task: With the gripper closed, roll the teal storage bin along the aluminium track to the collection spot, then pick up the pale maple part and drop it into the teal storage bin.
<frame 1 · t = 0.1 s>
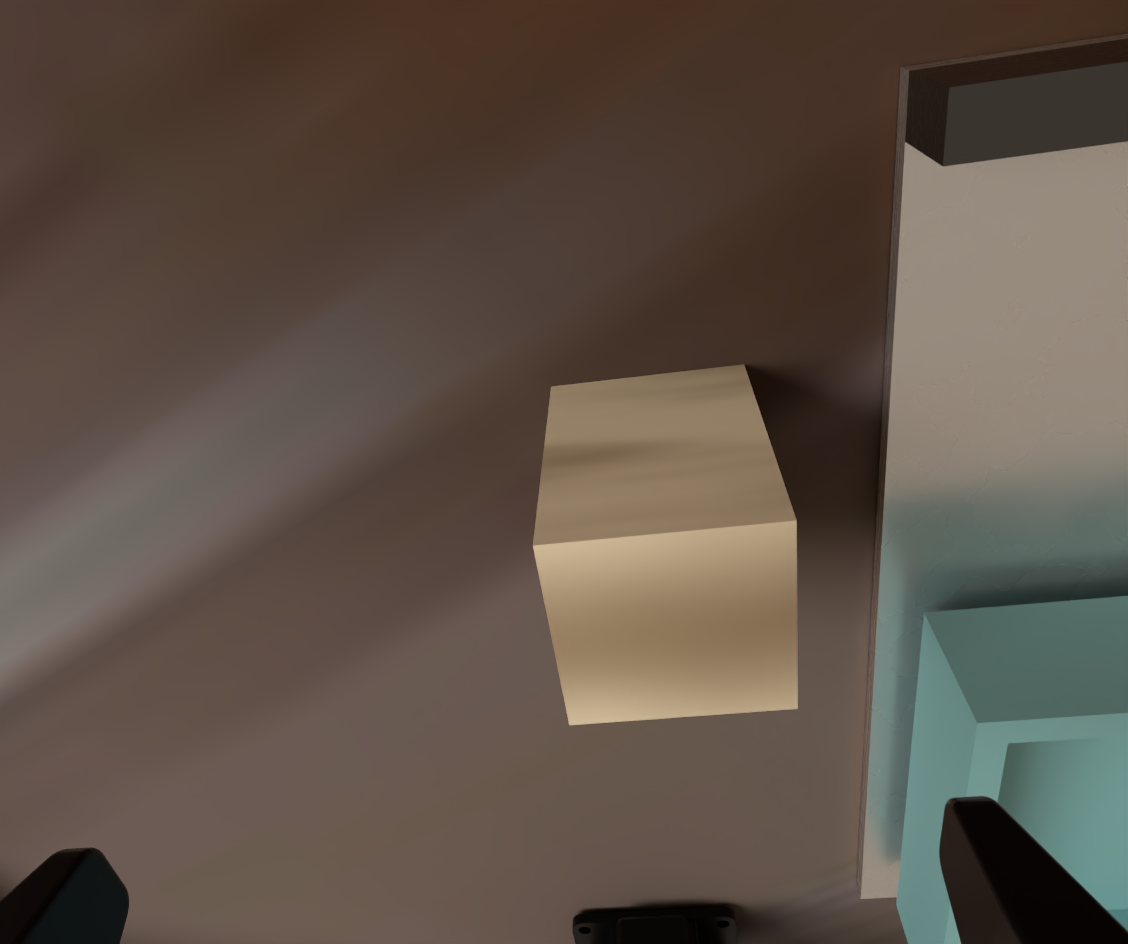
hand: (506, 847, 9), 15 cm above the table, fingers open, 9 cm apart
part: (655, 457, 24), on the table
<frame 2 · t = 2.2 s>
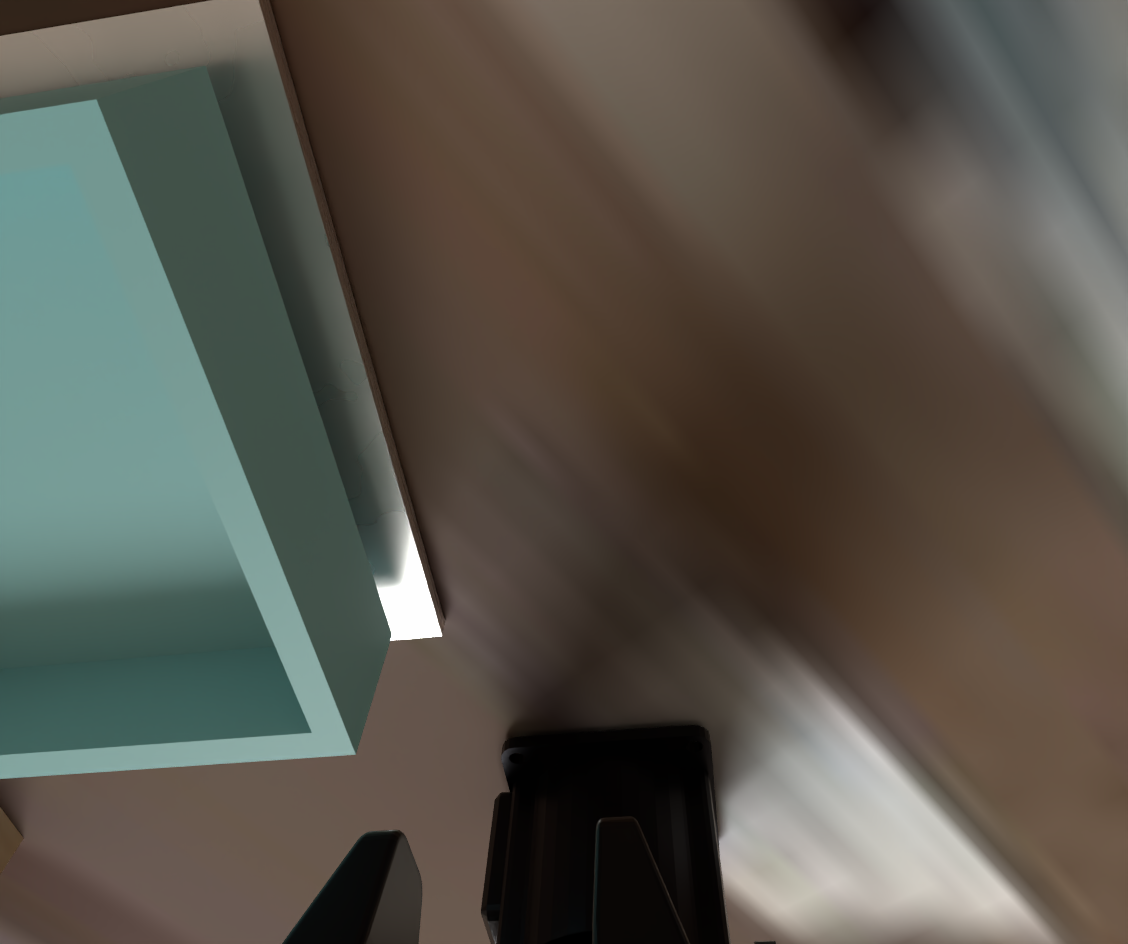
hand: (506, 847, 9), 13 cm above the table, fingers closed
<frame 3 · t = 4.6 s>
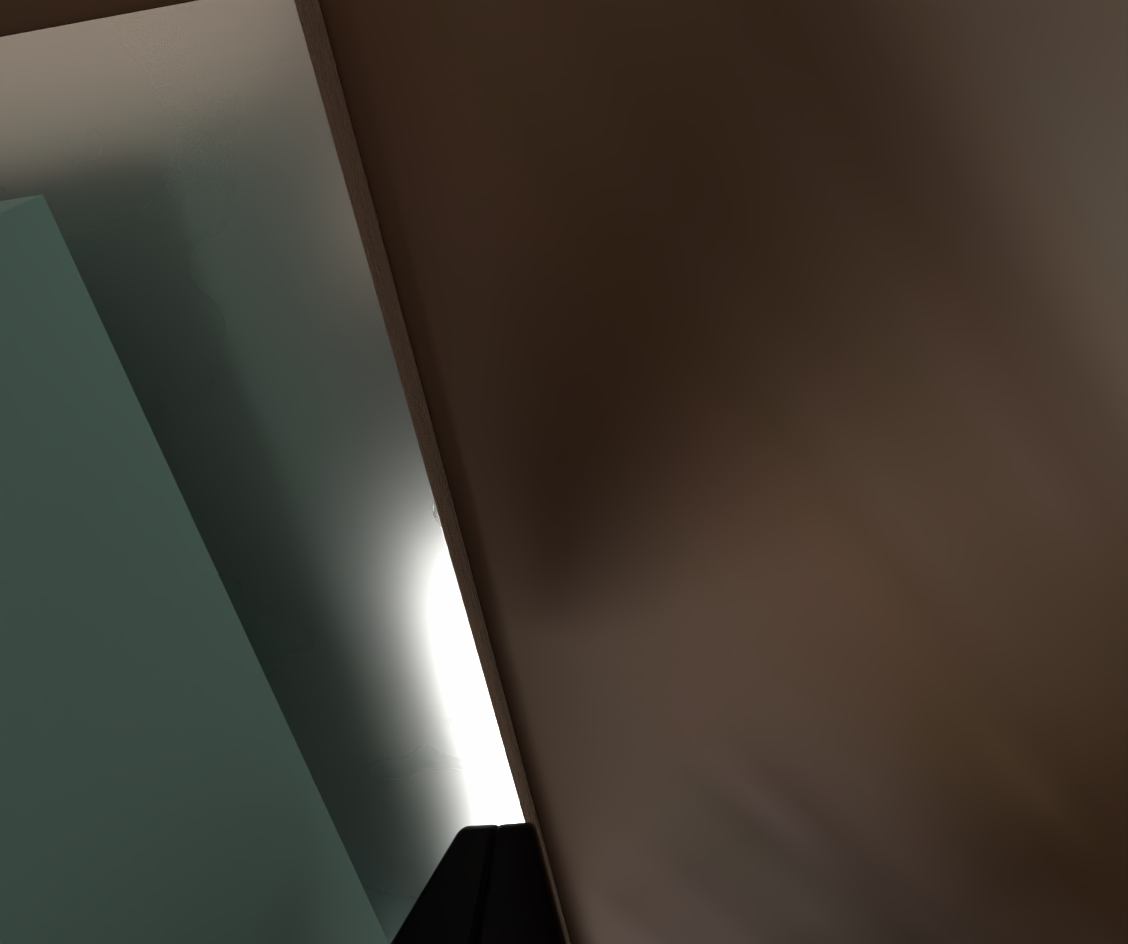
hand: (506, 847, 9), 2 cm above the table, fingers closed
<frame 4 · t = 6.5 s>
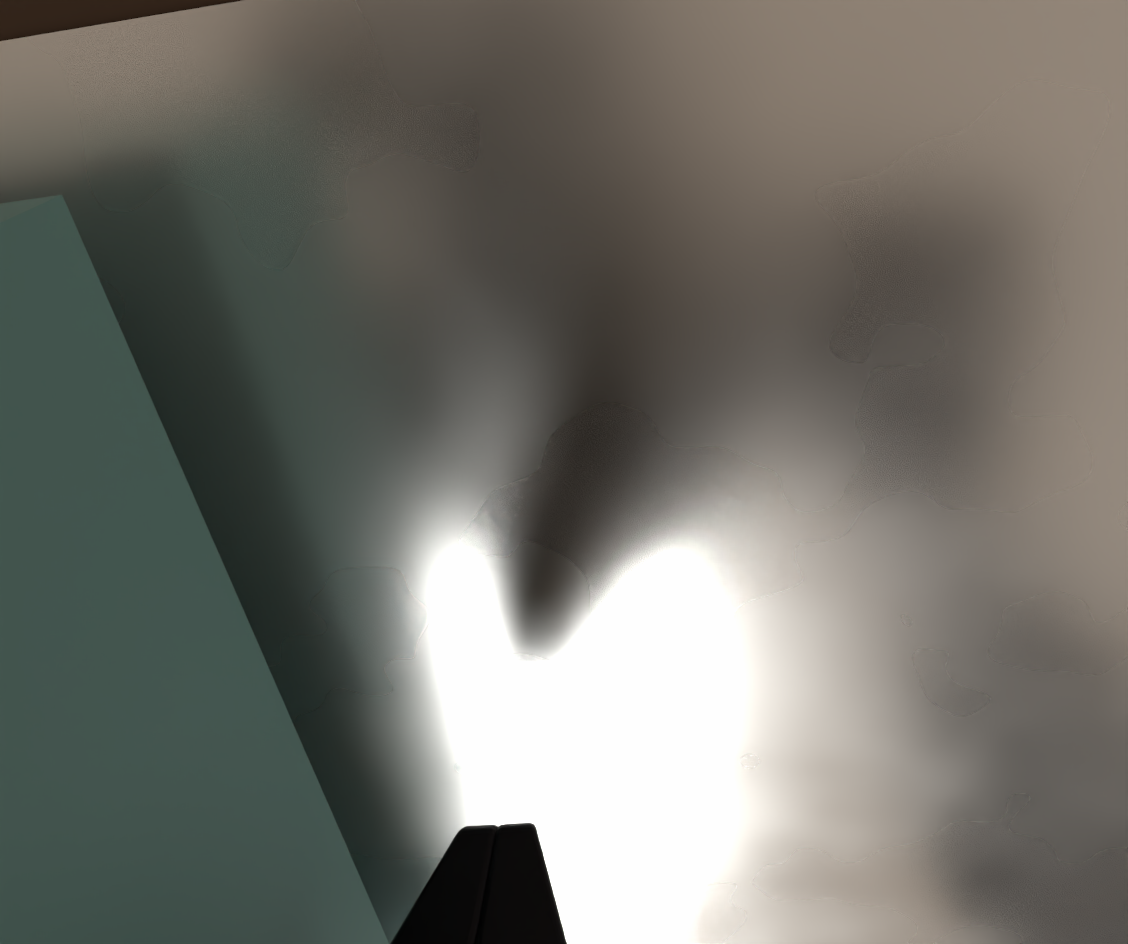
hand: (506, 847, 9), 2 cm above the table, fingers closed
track: (185, 729, 11), on the table
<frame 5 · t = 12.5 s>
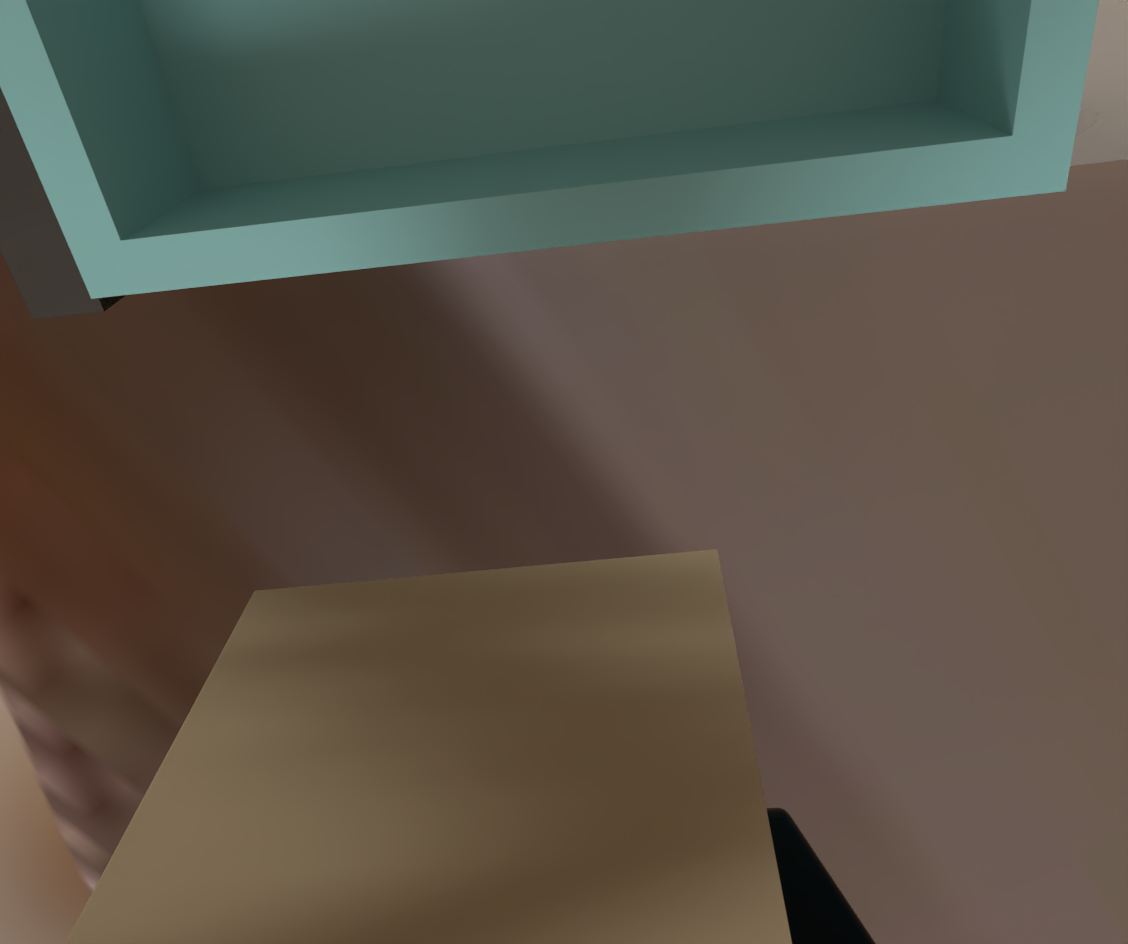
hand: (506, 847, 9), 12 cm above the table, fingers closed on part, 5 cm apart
part: (518, 733, 10), point 10 cm above the table, touching gripper
when the fingers open (6 cm above the table, at t = 14.5 s): part drops 2 cm, resting on teal storage bin.
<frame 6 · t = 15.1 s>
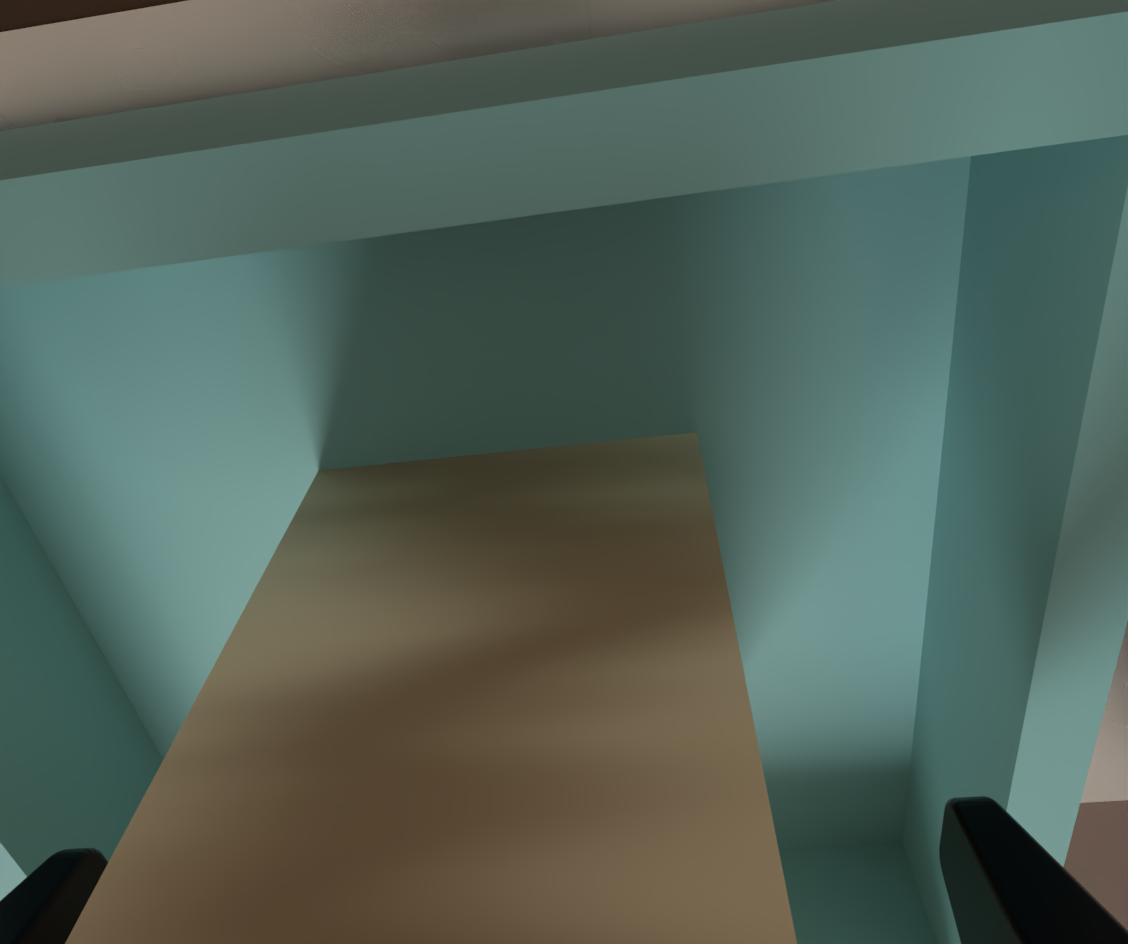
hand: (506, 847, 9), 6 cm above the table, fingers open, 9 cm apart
teal storage bin: (484, 635, 12), point 3 cm above the table, slide at 11.1 cm, touching part
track: (780, 479, 14), on the table
part: (533, 599, 12), point 2 cm above the table, touching teal storage bin
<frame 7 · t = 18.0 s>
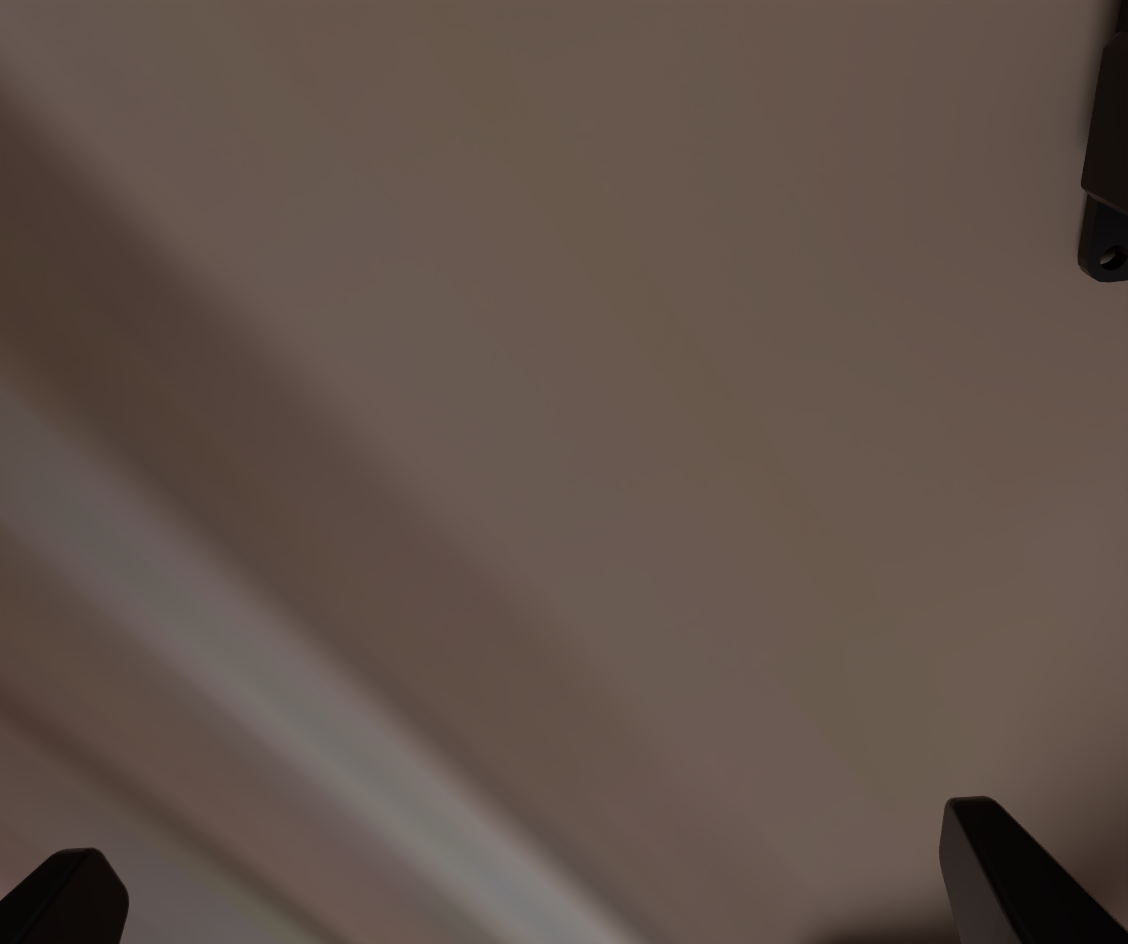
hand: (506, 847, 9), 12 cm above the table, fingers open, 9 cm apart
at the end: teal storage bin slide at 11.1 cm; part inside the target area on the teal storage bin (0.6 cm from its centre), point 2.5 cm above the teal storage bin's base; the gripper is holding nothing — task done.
